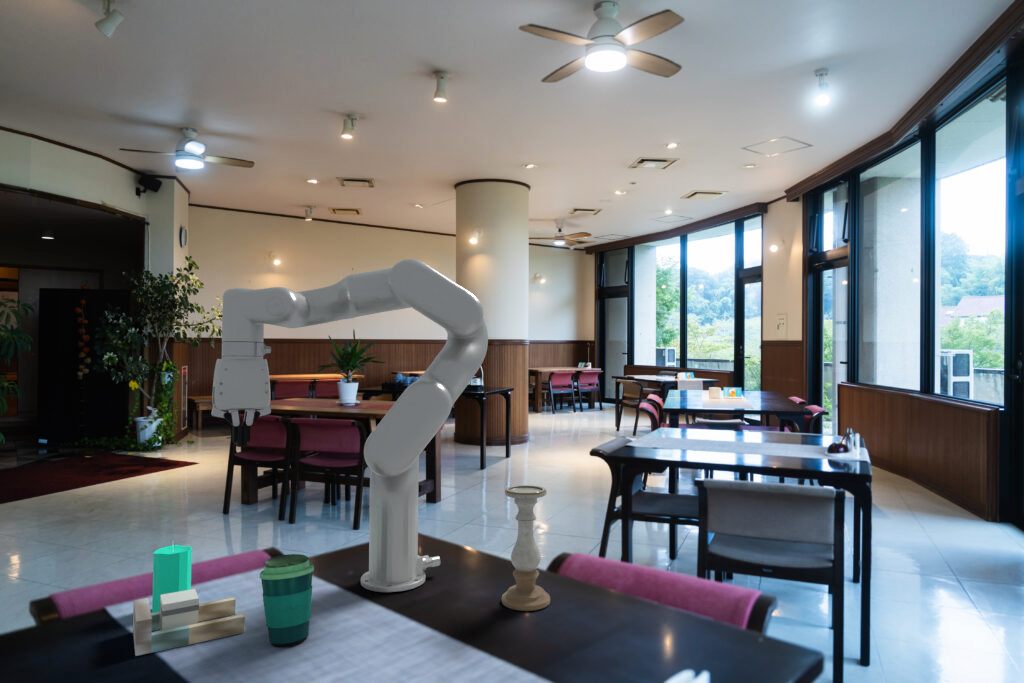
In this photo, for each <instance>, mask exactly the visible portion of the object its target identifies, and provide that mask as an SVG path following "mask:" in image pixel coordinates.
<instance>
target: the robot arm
mask: <svg viewBox="0 0 1024 683" xmlns="http://www.w3.org/2000/svg"><path fill="white" fill-rule="evenodd" d="M409 308H412V309H413V310H415V311H416V312H418V313H420V314H421V315H423V316H424V317H426V318H427V319H428V320H430V321H432V322H433V323H435V324H437V325H438V326H440V327H442V328H443V329H444V330H445V331H446V333H447V338H446V342H445V344H444V346H443V347H442V349H441V350H440V351H439V353H438V354H437V355H436V356H435V358H434V359H433V361H432V362H431V363H430V364H429V366H428V367H427V368H426V370H424V371H423V374H422V375H421V376H420V377H419V378H418V379H417V380H415V381H414V382H412V383H411V384H409V385H408V386H407V387H406V388H405V390H404V391H403V392H402V393H401V395H399V396H398V398H397V400H396V401H395V402H394V403H393V405H392V406H391V407H390V409H389V410H388V411H387V412H386V414H385V415H384V416H383V417H382V419H381V420H380V422H379V423H378V424H377V425H376V426H375V427H374V429H373V430H372V431H371V433H370V434H369V436H368V437H367V439H366V441H365V443H364V447H363V457H364V461H365V463H366V465H367V467H368V468H369V469H370V474H369V475H370V477H369V510H368V512H369V520H368V521H369V522H368V524H369V528H368V530H369V533H368V535H369V536H368V539H369V541H368V545H369V546H368V571H366V572H364V573H363V574H362V576H361V577H360V585H361V586H362V588H364V589H366V590H369V591H372V592H378V593H397V592H404V591H409V590H412V589H415V588H418V587H420V586H422V585H423V584H424V583H425V582H426V572H425V571H426V570H427V568H434V567H439V566H440V565H441V558H440V556H439V555H436V556H429V554H425V555H422V556H421V555H419V474H420V471H419V470H420V454H421V453H422V452H423V451H424V450H425V448H426V447H427V445H428V444H430V442H431V440H432V439H433V438H434V437H435V436H436V434H437V433H438V432H439V430H440V429H441V428H442V426H443V425H444V424H445V422H446V421H447V419H448V418H449V415H450V413H451V411H452V408H453V405H454V404H455V403H456V401H457V400H458V399H459V397H460V396H461V395H462V394H463V392H464V391H465V389H466V388H467V387H468V385H469V383H470V382H471V381H472V379H473V378H474V377H475V375H476V374H477V372H478V371H479V369H480V368H481V366H482V364H483V362H484V360H485V358H486V356H487V351H488V344H489V334H488V333H489V332H488V328H487V324H486V321H485V318H484V316H485V315H484V313H485V312H484V307H483V305H482V303H481V300H480V299H479V298H478V297H477V296H476V295H475V294H473V293H472V292H470V291H469V290H468V289H466V288H464V287H463V286H461V285H459V284H458V283H456V282H455V281H453V280H452V279H451V278H449V277H447V276H445V275H443V274H442V273H441V272H439V271H438V270H436V269H434V268H433V267H432V266H430V265H428V264H427V263H425V262H424V261H422V260H419V259H416V258H405V259H403V260H400V261H398V262H396V264H394V266H392V267H388V268H384V269H383V268H382V269H376V270H370V271H365V272H358V273H352V274H348V275H346V276H345V277H343V278H342V279H340V280H339V281H338V282H336V283H333V284H332V285H331V284H330V285H328V286H324V287H320V288H314V289H309V290H302V291H294V290H292V289H289V288H287V287H284V286H283V287H282V286H274V287H266V288H265V287H264V288H258V289H252V288H245V287H244V288H243V287H242V288H241V287H240V288H239V287H238V288H237V287H235V288H229V289H227V290H225V291H224V292H223V295H222V317H221V318H222V319H221V320H222V322H221V326H222V327H221V358H217V359H216V362H215V366H214V371H213V372H214V373H213V379H212V380H213V381H212V382H213V383H212V393H211V394H212V395H211V398H212V399H211V403H212V409H211V414H210V415H211V416H212V417H216V418H220V419H221V418H222V419H225V420H226V421H227V422H229V424H230V425H232V432H231V433H232V437H231V438H232V439H231V440H232V441H231V442H232V443H233V444H234V445H235V447H238V448H241V447H248V442H249V443H250V441H251V426H252V425H253V423H254V422H256V420H257V419H258V418H261V417H263V416H266V415H270V414H271V412H272V409H271V383H270V381H271V380H270V371H269V364H268V359H267V358H264V356H265V355H267V354H271V352H272V347H271V346H267V345H266V344H265V342H264V341H265V340H264V334H265V333H264V332H265V331H264V330H265V327H264V326H265V325H273V326H276V327H282V328H286V329H299V328H305V327H311V326H316V325H322V324H329V323H332V322H337V321H341V320H348V319H355V318H358V317H364V316H369V315H374V314H380V313H386V312H392V311H400V310H403V309H409ZM241 410H242V411H243V410H244V417H243V421H242V423H241V422H240V416H239V411H241Z"/></svg>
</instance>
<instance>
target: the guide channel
mask: <svg viewBox="0 0 1024 683" xmlns="http://www.w3.org/2000/svg"><path fill="white" fill-rule="evenodd" d="M132 614H133V618H132V620H133V621H132V636H133V644H134V646H133V648H134V655H135V657H137V656H143V655H146V654H152V653H155V652H156V653H157V652H161V651H166V650H169V649H175V648H179V647H184V646H188V645H194V644H198V643H203V642H207V641H210V640H211V641H213V640H217V639H222V638H225V637H230V636H234V635H239V634H243V633H245V632H246V627H245V626H246V625H245V624H246V616H245V614H243V613H241V614H237V615H236V598H235V597H230V598H223V599H219V600H214V601H207V602H202V603H199V611H198V623H197V624H192V625H187V626H182V627H177V628H172V629H167V630H162V631H160V611H159V612H154V613H152V610H151V606H150V602H149V598H148V597H146V598H139V599H135V600H133V613H132Z"/></svg>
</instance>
